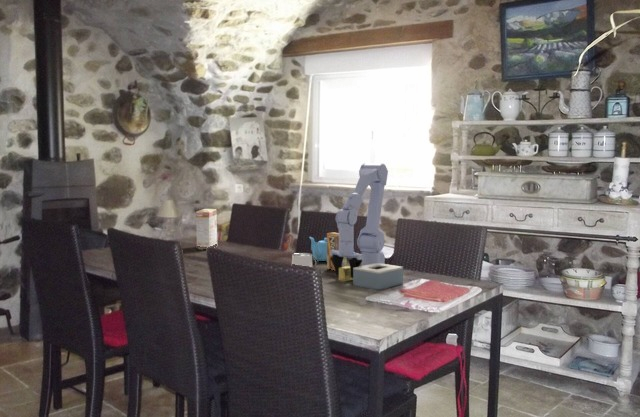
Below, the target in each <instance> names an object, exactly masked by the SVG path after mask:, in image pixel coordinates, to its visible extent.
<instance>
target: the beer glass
mask: <svg viewBox="0 0 640 417" xmlns="http://www.w3.org/2000/svg"><path fill="white" fill-rule="evenodd" d="M312 254H313V253H309V252H298V253H292V254H291V257H292V258H291V265H292V264H295V265H302V266H309V267H313V262H312Z"/></svg>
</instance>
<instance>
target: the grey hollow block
mask: <svg viewBox="0 0 640 417" xmlns="http://www.w3.org/2000/svg"><path fill="white" fill-rule="evenodd" d="M352 283H353V284H352V285H353V286H356V287H360V288H366V289H371V290H376V291H381V290H385V289H389V288H393V287H397V286H402V285H403V284H404V266H399V265H394V264H388V263H385V264H382V263H374V264H369V265H364V266H362V265H361V266H359V267H355V268H353V280H352Z"/></svg>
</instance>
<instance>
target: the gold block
mask: <svg viewBox="0 0 640 417" xmlns="http://www.w3.org/2000/svg"><path fill="white" fill-rule="evenodd" d="M349 281H353V278H351V269H350V265H346V266H345V267H340V268H339V275H338V282H344V283H345V282H349Z"/></svg>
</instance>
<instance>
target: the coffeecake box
mask: <svg viewBox="0 0 640 417" xmlns="http://www.w3.org/2000/svg"><path fill="white" fill-rule="evenodd" d="M217 211H218V210H217V208H203V209H200V210H197V211H195V223H196V224H195V225H196V227H195V228H196V229H195V230H196V233H195V234H196V247H197V246H200V247H207V248H208V247H210V246H213V245H215V244H217V245H218V223H217V220H218V215H217Z"/></svg>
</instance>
